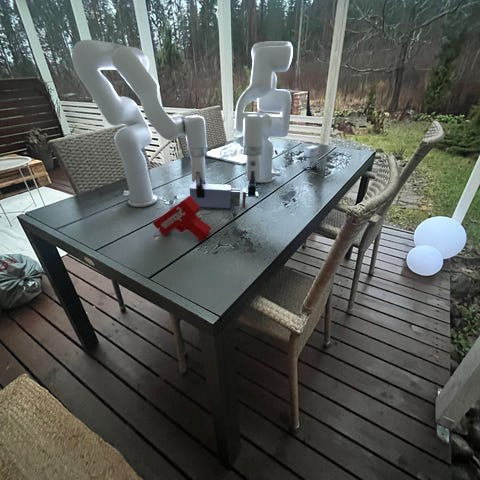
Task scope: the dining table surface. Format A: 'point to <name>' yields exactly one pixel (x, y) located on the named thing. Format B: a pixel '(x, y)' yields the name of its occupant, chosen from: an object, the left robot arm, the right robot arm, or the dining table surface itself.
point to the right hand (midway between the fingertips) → (251, 194)
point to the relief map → (229, 153)
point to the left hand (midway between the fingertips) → (201, 193)
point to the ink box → (310, 156)
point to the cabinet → (212, 196)
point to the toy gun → (183, 220)
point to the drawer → (236, 197)
